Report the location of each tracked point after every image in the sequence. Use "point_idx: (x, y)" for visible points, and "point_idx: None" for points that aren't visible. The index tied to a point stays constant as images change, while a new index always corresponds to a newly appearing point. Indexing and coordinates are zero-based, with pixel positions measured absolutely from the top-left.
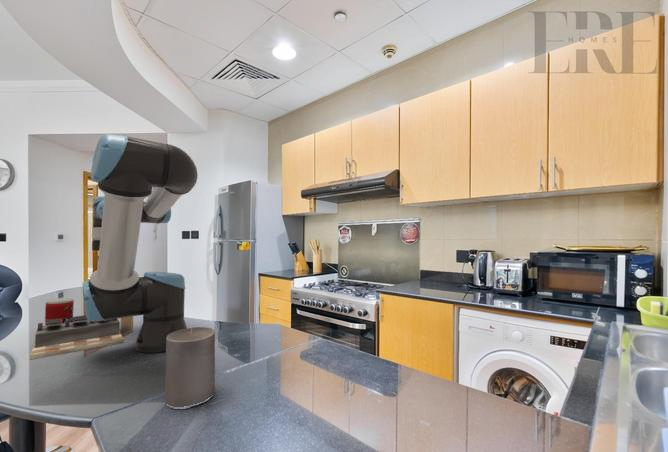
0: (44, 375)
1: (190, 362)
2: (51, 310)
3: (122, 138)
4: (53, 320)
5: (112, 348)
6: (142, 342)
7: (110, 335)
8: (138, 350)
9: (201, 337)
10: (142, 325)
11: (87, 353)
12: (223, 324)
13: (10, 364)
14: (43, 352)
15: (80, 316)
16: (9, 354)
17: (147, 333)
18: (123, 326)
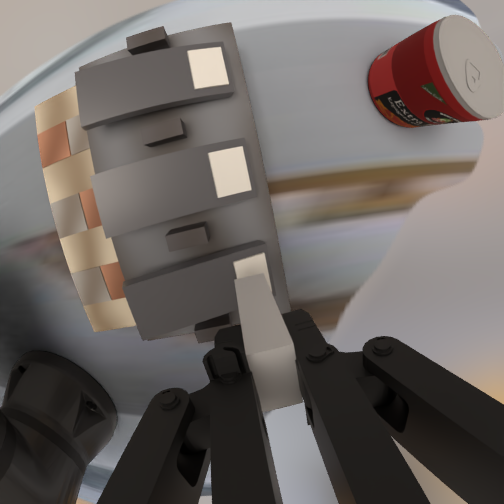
0: None
1: None
2: (414, 39)
3: None
4: (78, 99)
5: (55, 301)
6: (16, 371)
7: None
8: (23, 355)
9: None
10: (15, 397)
11: (33, 245)
12: (202, 490)
13: (30, 80)
14: (40, 131)
15: (97, 206)
16: (124, 26)
17: (5, 391)
18: (332, 302)
